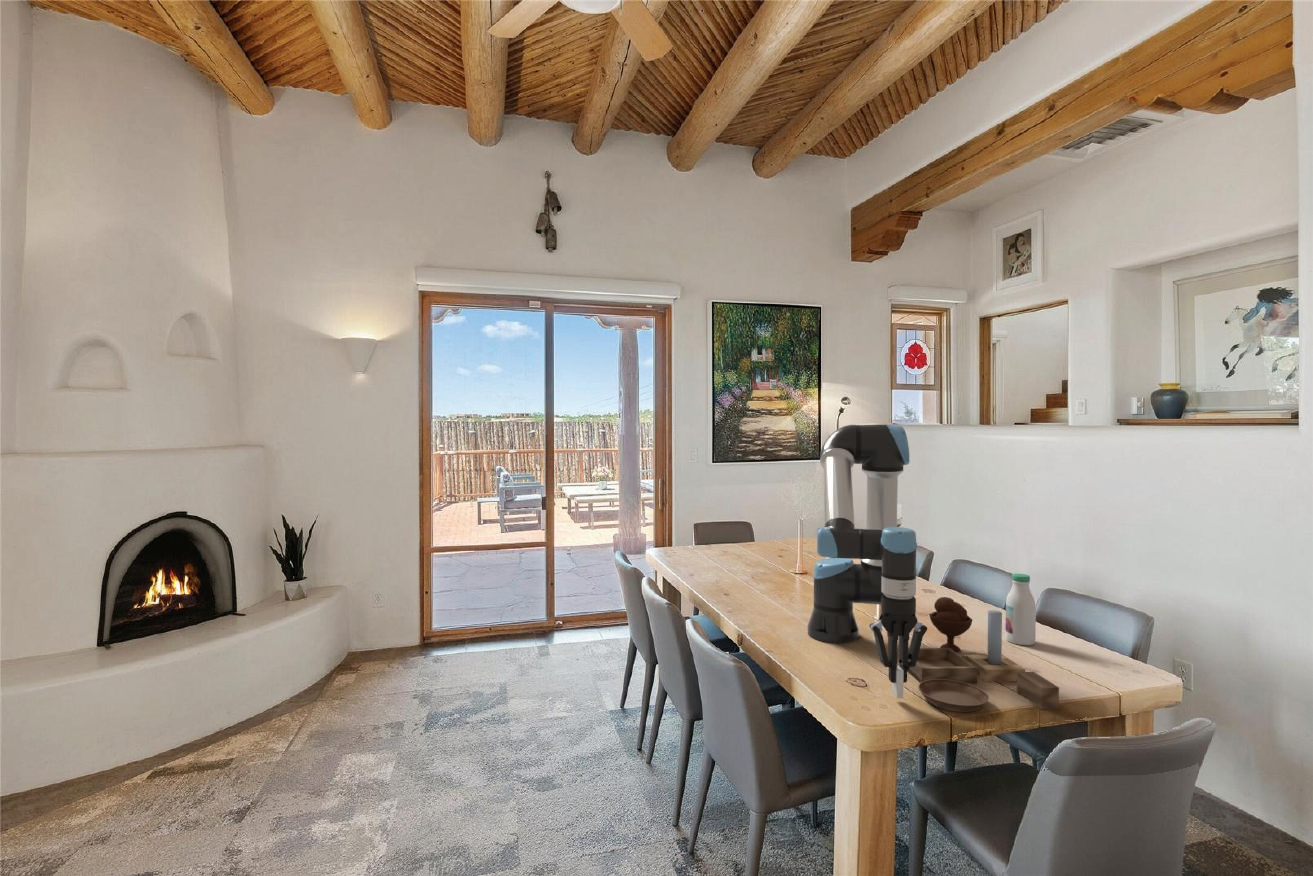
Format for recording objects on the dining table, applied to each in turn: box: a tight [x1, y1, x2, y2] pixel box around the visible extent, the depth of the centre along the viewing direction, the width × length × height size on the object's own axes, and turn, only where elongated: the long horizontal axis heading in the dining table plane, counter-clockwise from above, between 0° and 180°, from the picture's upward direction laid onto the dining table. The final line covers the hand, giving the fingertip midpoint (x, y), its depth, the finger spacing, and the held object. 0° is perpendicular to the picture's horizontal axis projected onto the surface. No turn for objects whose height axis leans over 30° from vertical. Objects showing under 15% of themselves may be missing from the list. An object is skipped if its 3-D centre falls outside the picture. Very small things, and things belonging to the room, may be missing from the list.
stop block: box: [1016, 671, 1060, 711], centre depth 144 cm, size 4×9×5 cm, turn 1°
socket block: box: [964, 654, 1026, 682], centre depth 160 cm, size 10×10×3 cm
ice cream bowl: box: [929, 596, 973, 654], centre depth 177 cm, size 11×11×15 cm
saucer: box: [918, 679, 990, 713], centre depth 144 cm, size 15×15×3 cm
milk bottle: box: [1004, 572, 1037, 646], centre depth 183 cm, size 8×8×20 cm
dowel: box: [987, 609, 1003, 665], centre depth 160 cm, size 3×3×16 cm
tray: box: [897, 647, 978, 685], centre depth 160 cm, size 14×14×4 cm
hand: (897, 695), depth 143 cm, fingers closed
